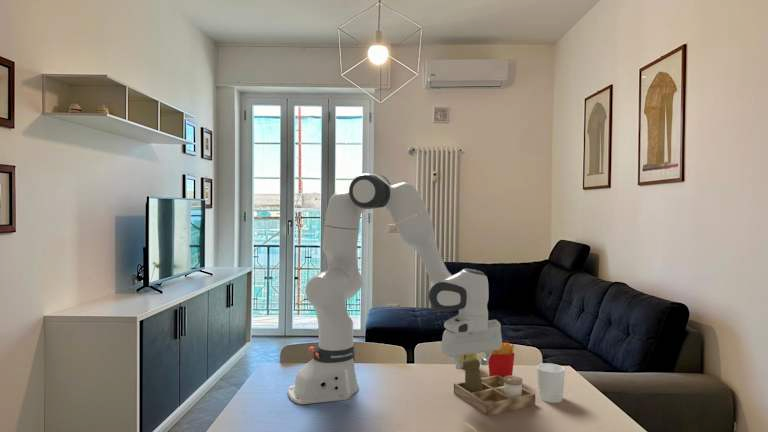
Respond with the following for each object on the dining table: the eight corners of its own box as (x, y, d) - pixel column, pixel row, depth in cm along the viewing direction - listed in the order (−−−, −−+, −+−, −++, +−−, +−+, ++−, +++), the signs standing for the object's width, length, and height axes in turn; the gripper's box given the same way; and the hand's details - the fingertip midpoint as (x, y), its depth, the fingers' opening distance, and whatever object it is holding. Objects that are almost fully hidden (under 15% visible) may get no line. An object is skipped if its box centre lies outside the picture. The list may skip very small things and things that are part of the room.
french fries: (512, 378, 160) (512, 340, 160) (515, 383, 156) (515, 344, 155) (485, 378, 161) (485, 340, 160) (487, 383, 156) (487, 344, 156)
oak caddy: (487, 418, 131) (487, 405, 131) (453, 395, 147) (453, 383, 146) (535, 406, 138) (535, 394, 138) (498, 386, 154) (498, 374, 154)
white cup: (547, 407, 138) (547, 373, 138) (531, 396, 145) (531, 364, 145) (570, 404, 140) (570, 370, 140) (553, 393, 147) (554, 362, 147)
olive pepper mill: (484, 398, 141) (480, 360, 141) (464, 398, 142) (460, 362, 142) (484, 391, 147) (480, 355, 147) (465, 391, 148) (461, 356, 148)
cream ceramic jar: (511, 406, 137) (511, 383, 137) (499, 399, 142) (499, 377, 141) (526, 403, 139) (526, 380, 139) (514, 396, 144) (514, 374, 144)
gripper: (494, 316, 151) (493, 359, 152) (439, 322, 143) (438, 367, 143) (507, 321, 145) (505, 365, 146) (450, 328, 137) (449, 375, 137)
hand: (472, 366), depth 144 cm, fingers open, 8 cm apart
